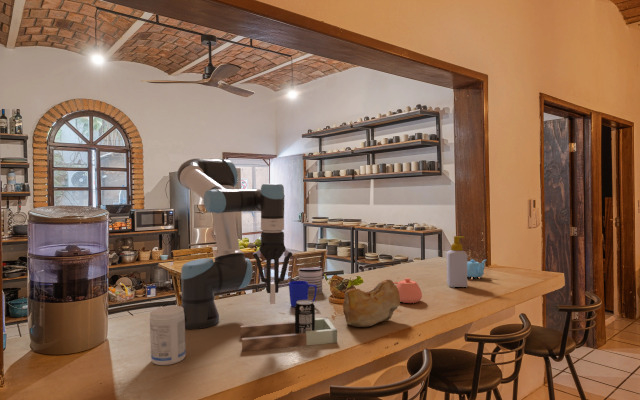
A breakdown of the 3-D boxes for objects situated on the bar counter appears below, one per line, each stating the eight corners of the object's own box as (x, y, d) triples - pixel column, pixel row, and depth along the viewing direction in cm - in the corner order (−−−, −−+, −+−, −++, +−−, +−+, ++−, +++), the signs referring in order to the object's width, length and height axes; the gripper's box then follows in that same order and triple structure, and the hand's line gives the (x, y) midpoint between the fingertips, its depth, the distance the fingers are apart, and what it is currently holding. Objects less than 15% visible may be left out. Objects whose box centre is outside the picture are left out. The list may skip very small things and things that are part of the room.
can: (295, 294, 202) (294, 269, 202) (303, 289, 213) (303, 265, 213) (318, 295, 198) (317, 270, 198) (325, 290, 209) (325, 266, 209)
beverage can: (304, 333, 145) (304, 298, 145) (318, 337, 141) (318, 301, 141) (291, 338, 140) (290, 302, 140) (306, 342, 136) (305, 305, 136)
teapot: (458, 279, 232) (458, 260, 232) (462, 274, 243) (462, 257, 243) (483, 281, 226) (483, 262, 225) (486, 276, 237) (486, 258, 237)
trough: (242, 351, 130) (242, 339, 130) (240, 336, 144) (240, 325, 143) (306, 345, 134) (306, 334, 134) (299, 331, 148) (299, 321, 148)
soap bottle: (467, 288, 209) (467, 237, 209) (449, 287, 211) (448, 237, 210) (464, 284, 218) (464, 235, 218) (446, 284, 220) (446, 235, 219)
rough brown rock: (380, 312, 172) (376, 275, 173) (407, 319, 158) (403, 279, 158) (330, 324, 161) (327, 284, 161) (355, 332, 146) (351, 289, 147)
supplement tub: (175, 351, 131) (174, 303, 130) (192, 359, 124) (191, 309, 124) (144, 360, 124) (143, 310, 123) (160, 369, 117) (159, 316, 117)
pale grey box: (306, 345, 134) (306, 332, 134) (299, 331, 148) (299, 319, 148) (337, 342, 136) (337, 330, 136) (327, 328, 150) (327, 317, 150)
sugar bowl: (420, 306, 178) (420, 282, 178) (387, 303, 183) (387, 280, 182) (423, 299, 190) (423, 276, 190) (392, 297, 194) (391, 274, 194)
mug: (314, 309, 175) (314, 285, 175) (286, 308, 178) (286, 284, 178) (318, 304, 183) (318, 281, 183) (291, 303, 186) (291, 280, 186)
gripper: (253, 232, 133) (253, 307, 134) (294, 232, 136) (293, 304, 137) (251, 230, 141) (251, 300, 142) (290, 229, 143) (290, 298, 144)
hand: (272, 302), depth 139 cm, fingers closed
